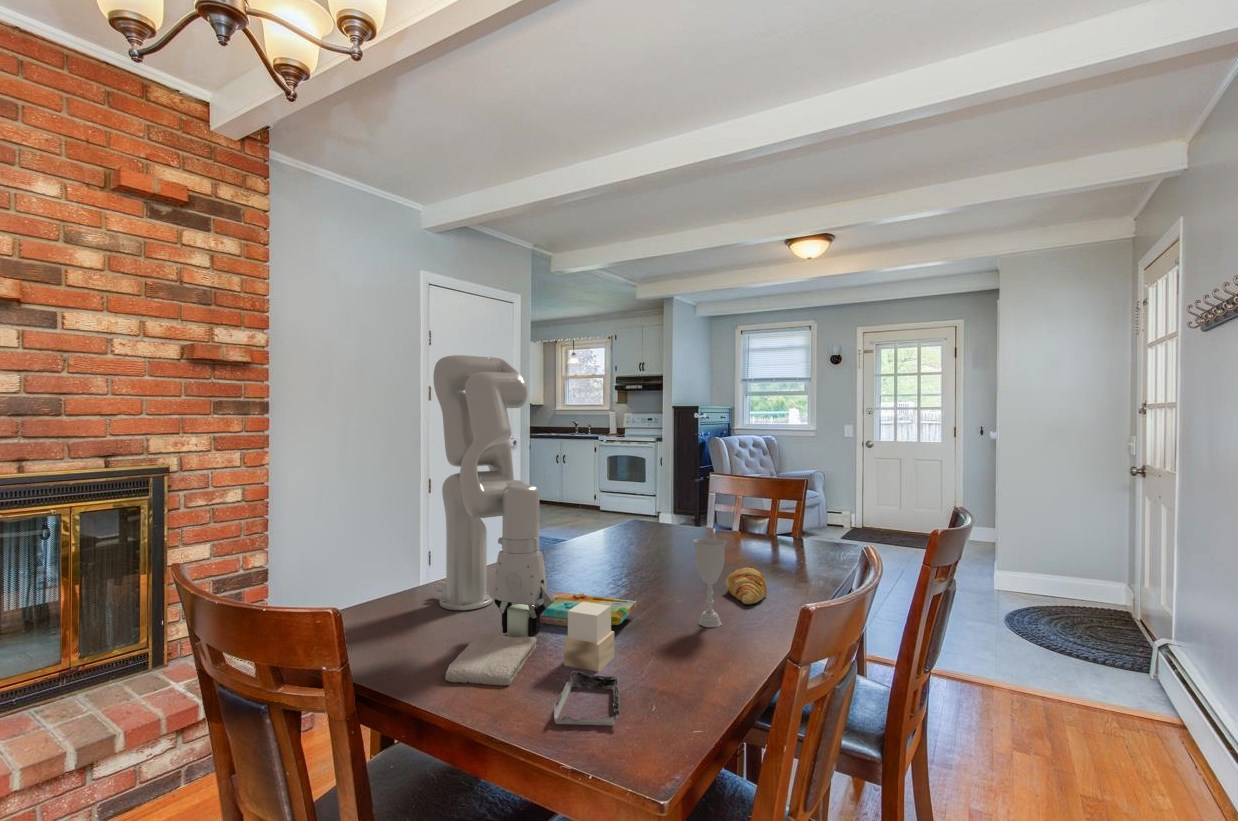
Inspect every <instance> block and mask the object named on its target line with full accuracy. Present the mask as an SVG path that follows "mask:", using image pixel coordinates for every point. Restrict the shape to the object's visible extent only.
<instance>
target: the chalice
mask: <svg viewBox="0 0 1238 821" xmlns="http://www.w3.org/2000/svg"><path fill="white" fill-rule="evenodd" d="M693 543H694V545H695V565H696V568H697V571H698V573H699V575H700V578H701V580H702V581H703V582H704V583H705V584H707V585H706V586H707V590H706V594H707V595H706V596H707V599H706V600H705V602H706V604H707V609H706V610H704V611H703V612H702V613H701V615H700V617H699V620H698V622H697V623H698V625H699V626H701V625H702V627H704V628H705V627H706V628H718V627H721V626H722V622H721V619H720V617H719V614H718V613H717V612H716V611H714V609H713V604H714V602H715V600H714V599H713V594H714V591H713V585H714V584H716V583H717V582H718V580H719V578H720V576H721V574H722V571H723V569H724V565H725V546H726V544H727V543H728V541H726V540H724V539H722V538H721V539H720V538H714V537H702V538H701V537H698V538H696V539H693ZM720 625H721V626H720Z"/></svg>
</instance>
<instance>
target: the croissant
mask: <svg viewBox="0 0 1238 821" xmlns="http://www.w3.org/2000/svg"><path fill="white" fill-rule="evenodd" d="M725 587H726V589H727V590H728V591H729V593H730V594H731V596H733V597H735V598H736V599H737V600H739V601H740V602H742V603H743V605H753V604H756V603H758V602H760V601H762V600H763V599H764V598H765V597H766V596H767V594H768V590H767V589H768V588H767V581H766V578H765V577H764V575H763V574H762V573H761V572H760V571H759V570H757V569H755V568H753V567H751V566H749V567H747V566H746V567H742V568H739V569H738V568H737V569H736V570H734V571H733V572H732V573H730V574H729V575H728V576H727V577H726V579H725Z"/></svg>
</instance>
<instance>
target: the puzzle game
mask: <svg viewBox="0 0 1238 821" xmlns="http://www.w3.org/2000/svg"><path fill="white" fill-rule="evenodd" d="M551 595H552V597H553V598H554V602H553V603H552V604H551V605H550V606H549V607H548V608H547V609H546V610H545V611H544V612H543V613H542V614H541V615H540V624H544V623H546V625H553V626H554V625H555V626H560V627H562V626H563V627H568V611H569V610H570V609H572V608H573V607H575V606H576V605H578V604H580V603H581V602H590V603H597V604H603V605H610V606H611V626H619V625H621V624H622V623H623V622H624V621H625V620H626V618H627V617H629V615H630V614H631V613H632V612H633V611H634V610H635V609H636V608H637V606H638V605H637V603H638V602H637V601H636V600H627V599H620V598H611V597H603V596H597V595H596V596H594V595H586V594H585V593H570V592H562V591H559V592H555V593H554V594H551ZM543 602H544V601H542V602H540V603H541V604H542V603H543Z"/></svg>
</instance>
